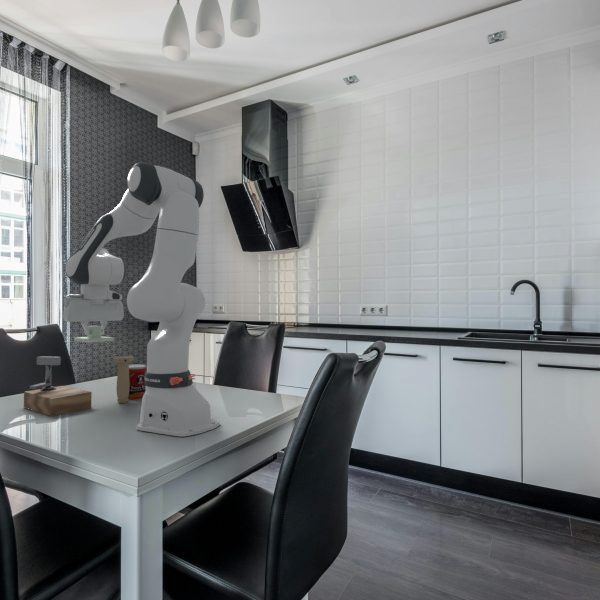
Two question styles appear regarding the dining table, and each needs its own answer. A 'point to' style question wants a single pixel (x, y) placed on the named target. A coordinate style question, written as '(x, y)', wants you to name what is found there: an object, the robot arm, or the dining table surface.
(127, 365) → the handle
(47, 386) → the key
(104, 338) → the lid
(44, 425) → the dining table surface
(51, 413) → the case
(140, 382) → the canned food
